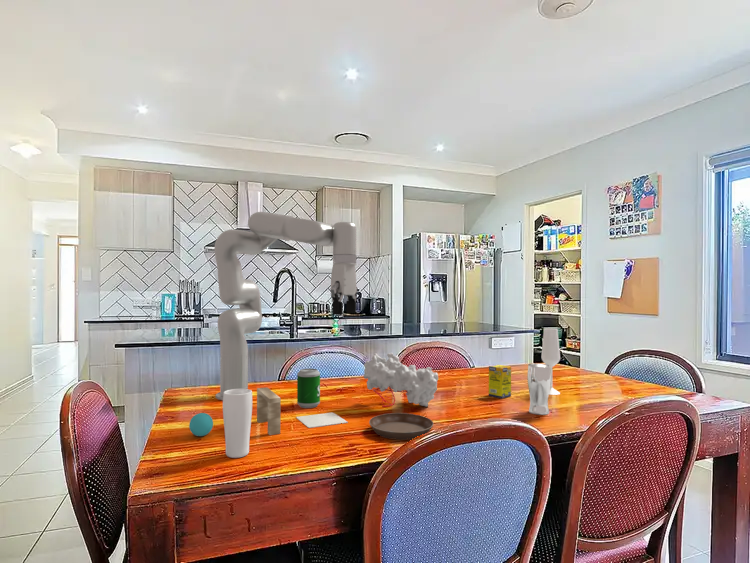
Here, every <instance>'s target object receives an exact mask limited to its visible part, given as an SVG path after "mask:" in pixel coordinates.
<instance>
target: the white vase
mask: <svg viewBox="0 0 750 563" xmlns="http://www.w3.org/2000/svg"><path fill="white" fill-rule="evenodd" d="M550 382H551V376H550V365H547V364H545V363H528V365H527V386H528V394H529V409H528V412H529V413H530V414H533V415H536V416H545V415H546V416H547V415H549V414H550V408H549V403H548V402H549V401H548V400H549V395H550V394H549V390H550Z"/></svg>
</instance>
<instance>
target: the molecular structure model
mask: <svg viewBox="0 0 750 563" xmlns="http://www.w3.org/2000/svg"><path fill="white" fill-rule="evenodd" d="M386 357H387V358H388V359H387V358H386ZM386 357H381V356H379V354H378V353H376V352H375V353H373V355H372V357H371V360H370V361H369V360H365V363H364V364H363V366H364V371H363V376H362V377H363V378H364V379H365V380H367V381H366V386H367V389H368V390H373V392H375V394H377V395H378V396H379V397H380V398H381V399H382V401H381V405H382V407H381V408H387V407H391V406H393V405H395V402H396V397H395V394H394V393H405V395H406V399H407V400H408V403H409V404H412V403H413V404H415V405H419V406H422V407H426V408H427V407H428V406H429V402H431V400H434V398H435V396H434V394H435V393H436V392H437V391H438V387H437V386H438V380H439V374H438V372H435V371H433V370H432V367H431V366H430V367H429V366H427V367H426V368H424V367H423V368H416V365H415V364H410V365H409V366H407V365H406V362H405V363H402V362H400V357H399V356H397V355H394V353H393V352H388V353H387V354H386ZM380 392H385V393H387V394H388V393H389V394H390V393H391V394H392V397H389V396H387V395H384V397H385V398H388V399H391V400H393V402H392V403H390V402H389V401H387V400H386V399H385V398H384V397H383V396H382V393H380ZM383 402H384V403H385V402H386V403H388V404H389V405H385V404H384V403H383Z"/></svg>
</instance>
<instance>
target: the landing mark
mask: <svg viewBox="0 0 750 563" xmlns="http://www.w3.org/2000/svg"><path fill="white" fill-rule="evenodd" d="M295 418H296V419H297V420H298V421H299V422H301V423H302V424H303V425H305V426H306V427H307V428H308V429H314V428H320V427H327V426H333V425H334V426H336V425H340V424H341V423H342V424H348V423H349V421H347V420H345V418H342V417H341V416H340V415H338V414H336V413H335V412H326V413H317V414H316V413H315V414H310V415H301V416H296V417H295ZM342 424H341V425H342Z"/></svg>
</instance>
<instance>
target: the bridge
mask: <svg viewBox="0 0 750 563" xmlns="http://www.w3.org/2000/svg"><path fill="white" fill-rule="evenodd" d="M281 406H282V405H281V397H280V396H279V395H277V394H276V393H275V392H274V391H273V390H271V389H270V388H269V387H267V386H266V387H257V388H256V422H257V423H258V424H261V423H267V435H269V436H272V435H280V434H281V413H282V412H281V409H282V408H281Z"/></svg>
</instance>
